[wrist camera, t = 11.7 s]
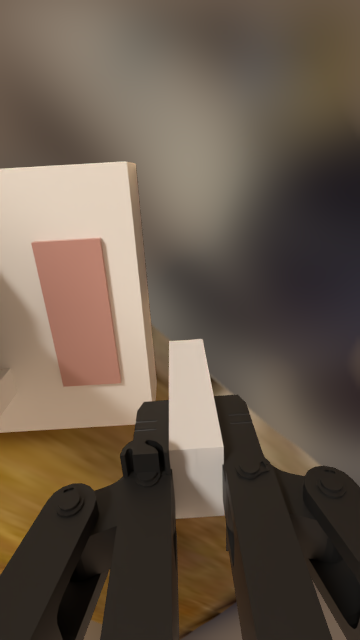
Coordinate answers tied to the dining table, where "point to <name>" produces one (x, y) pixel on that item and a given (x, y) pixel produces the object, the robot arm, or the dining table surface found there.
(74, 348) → the box
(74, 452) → the dining table surface
